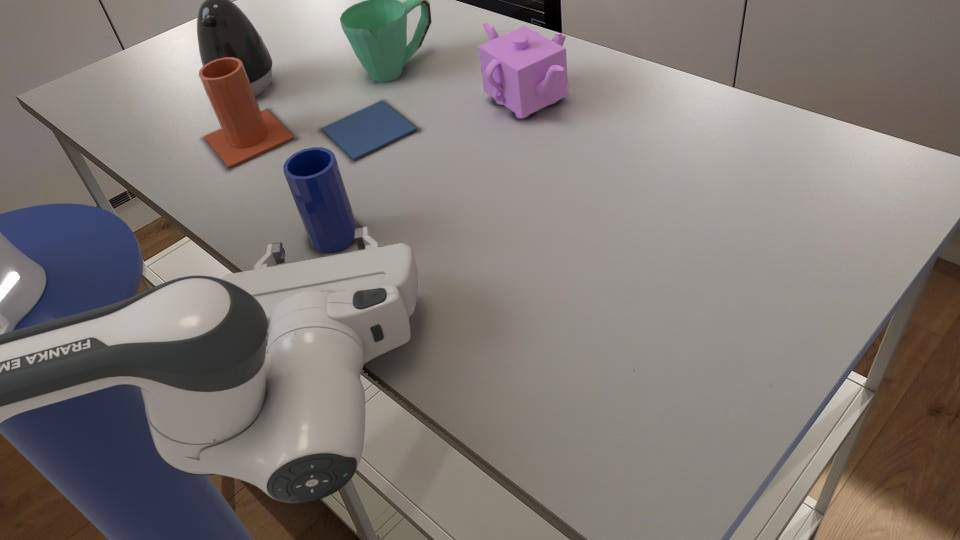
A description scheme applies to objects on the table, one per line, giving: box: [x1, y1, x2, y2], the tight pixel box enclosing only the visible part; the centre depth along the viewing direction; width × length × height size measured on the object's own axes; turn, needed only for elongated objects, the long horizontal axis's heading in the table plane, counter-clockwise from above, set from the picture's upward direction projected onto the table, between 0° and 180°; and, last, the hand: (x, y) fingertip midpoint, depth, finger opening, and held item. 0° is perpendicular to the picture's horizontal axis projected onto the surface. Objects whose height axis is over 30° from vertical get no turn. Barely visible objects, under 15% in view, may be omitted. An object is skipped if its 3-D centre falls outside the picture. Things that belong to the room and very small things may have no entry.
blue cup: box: [282, 146, 358, 253], centre depth 87 cm, size 6×6×11 cm
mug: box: [339, 0, 432, 83], centre depth 115 cm, size 15×10×10 cm
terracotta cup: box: [198, 57, 268, 148], centre depth 105 cm, size 6×6×11 cm
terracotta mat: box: [203, 108, 295, 169], centre depth 109 cm, size 10×10×1 cm
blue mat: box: [321, 100, 418, 162], centre depth 107 cm, size 10×10×1 cm
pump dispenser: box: [196, 0, 273, 97], centre depth 114 cm, size 10×10×15 cm
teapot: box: [477, 22, 569, 119], centre depth 104 cm, size 18×13×10 cm
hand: (319, 239), depth 82 cm, fingers open, 8 cm apart
